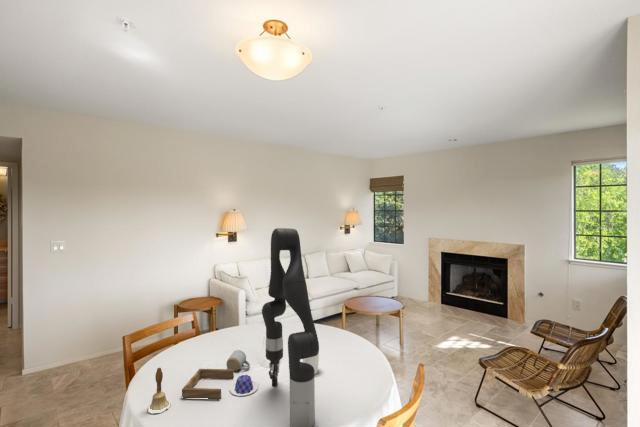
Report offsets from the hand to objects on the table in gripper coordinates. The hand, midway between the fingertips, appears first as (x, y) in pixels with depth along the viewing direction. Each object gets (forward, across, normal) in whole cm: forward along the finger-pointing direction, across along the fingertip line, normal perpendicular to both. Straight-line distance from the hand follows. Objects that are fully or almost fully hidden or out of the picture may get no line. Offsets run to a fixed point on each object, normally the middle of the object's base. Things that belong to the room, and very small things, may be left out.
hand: (274, 385), depth 143 cm
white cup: (+2, +16, -14) cm, 22 cm away
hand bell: (+2, -15, +44) cm, 46 cm away
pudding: (+2, 0, +14) cm, 14 cm away
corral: (+2, 0, +29) cm, 29 cm away
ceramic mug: (+2, +18, +21) cm, 28 cm away
